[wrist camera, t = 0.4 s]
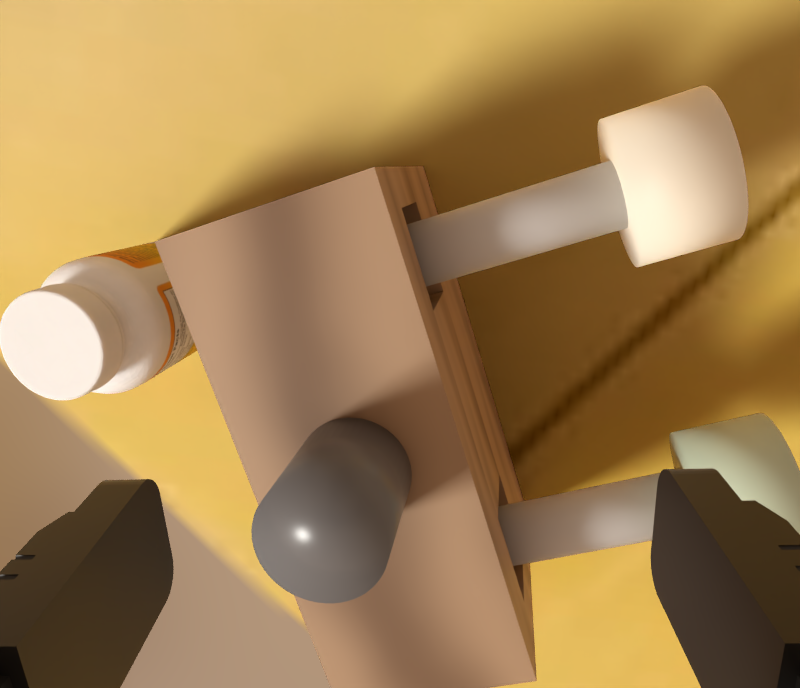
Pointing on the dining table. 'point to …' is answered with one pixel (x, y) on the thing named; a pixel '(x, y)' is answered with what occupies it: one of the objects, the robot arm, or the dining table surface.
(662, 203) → the knob cream
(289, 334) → the brown wooden block
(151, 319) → the supplement bottle
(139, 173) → the dining table surface
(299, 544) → the dark grey cylinder
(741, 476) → the knob sage
